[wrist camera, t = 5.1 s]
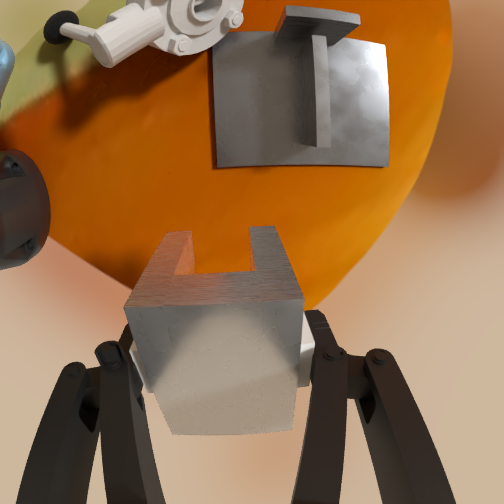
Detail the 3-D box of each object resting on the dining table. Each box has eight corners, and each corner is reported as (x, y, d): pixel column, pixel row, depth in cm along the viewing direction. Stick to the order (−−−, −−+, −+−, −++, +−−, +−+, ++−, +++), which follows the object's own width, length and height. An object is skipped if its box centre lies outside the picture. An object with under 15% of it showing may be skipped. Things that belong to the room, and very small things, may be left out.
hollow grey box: (187, 348, 19) (174, 438, 12) (166, 232, 16) (123, 307, 9) (274, 344, 19) (291, 434, 13) (274, 225, 16) (304, 298, 9)
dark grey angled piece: (217, 166, 28) (211, 178, 21) (212, 35, 22) (205, 5, 15) (385, 166, 28) (424, 178, 22) (382, 46, 23) (419, 29, 16)
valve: (255, 31, 22) (121, 113, 19) (155, 5, 26) (58, 66, 23) (252, -59, 12) (69, 6, 9) (140, -54, 16) (25, 6, 13)
